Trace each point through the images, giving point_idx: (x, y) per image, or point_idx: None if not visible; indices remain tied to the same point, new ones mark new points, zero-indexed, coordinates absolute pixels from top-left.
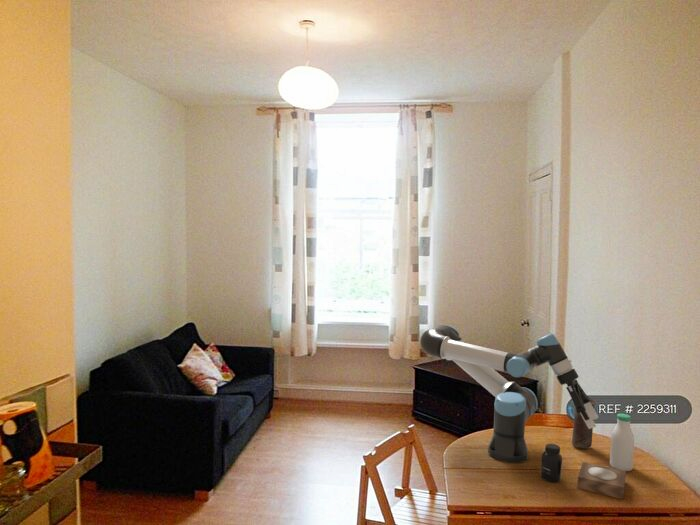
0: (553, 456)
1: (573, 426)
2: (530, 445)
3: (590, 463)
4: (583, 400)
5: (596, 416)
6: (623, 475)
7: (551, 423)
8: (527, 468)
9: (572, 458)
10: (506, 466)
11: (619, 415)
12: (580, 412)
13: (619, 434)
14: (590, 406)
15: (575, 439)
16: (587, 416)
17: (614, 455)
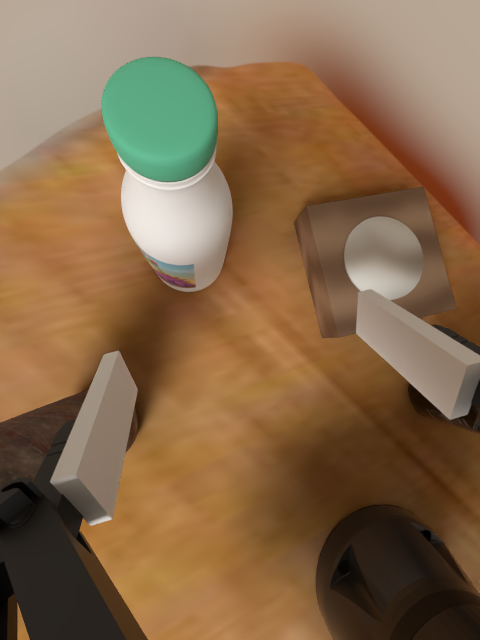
0: None
1: None
2: (240, 568)
3: (334, 312)
4: (91, 557)
5: (120, 365)
6: (344, 205)
7: None
8: (422, 471)
9: (239, 402)
10: (457, 524)
11: (194, 137)
12: (469, 407)
13: (228, 202)
14: (96, 440)
15: (127, 448)
16: (457, 336)
17: (223, 259)
